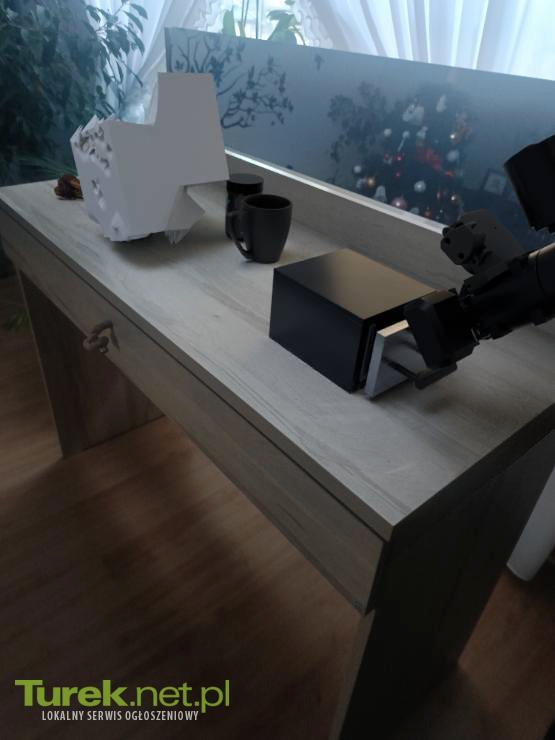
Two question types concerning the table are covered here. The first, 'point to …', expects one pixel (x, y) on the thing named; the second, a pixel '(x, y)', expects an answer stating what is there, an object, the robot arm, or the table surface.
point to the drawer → (394, 357)
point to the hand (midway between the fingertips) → (419, 334)
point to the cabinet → (335, 309)
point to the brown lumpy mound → (68, 186)
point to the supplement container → (240, 197)
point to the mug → (262, 226)
